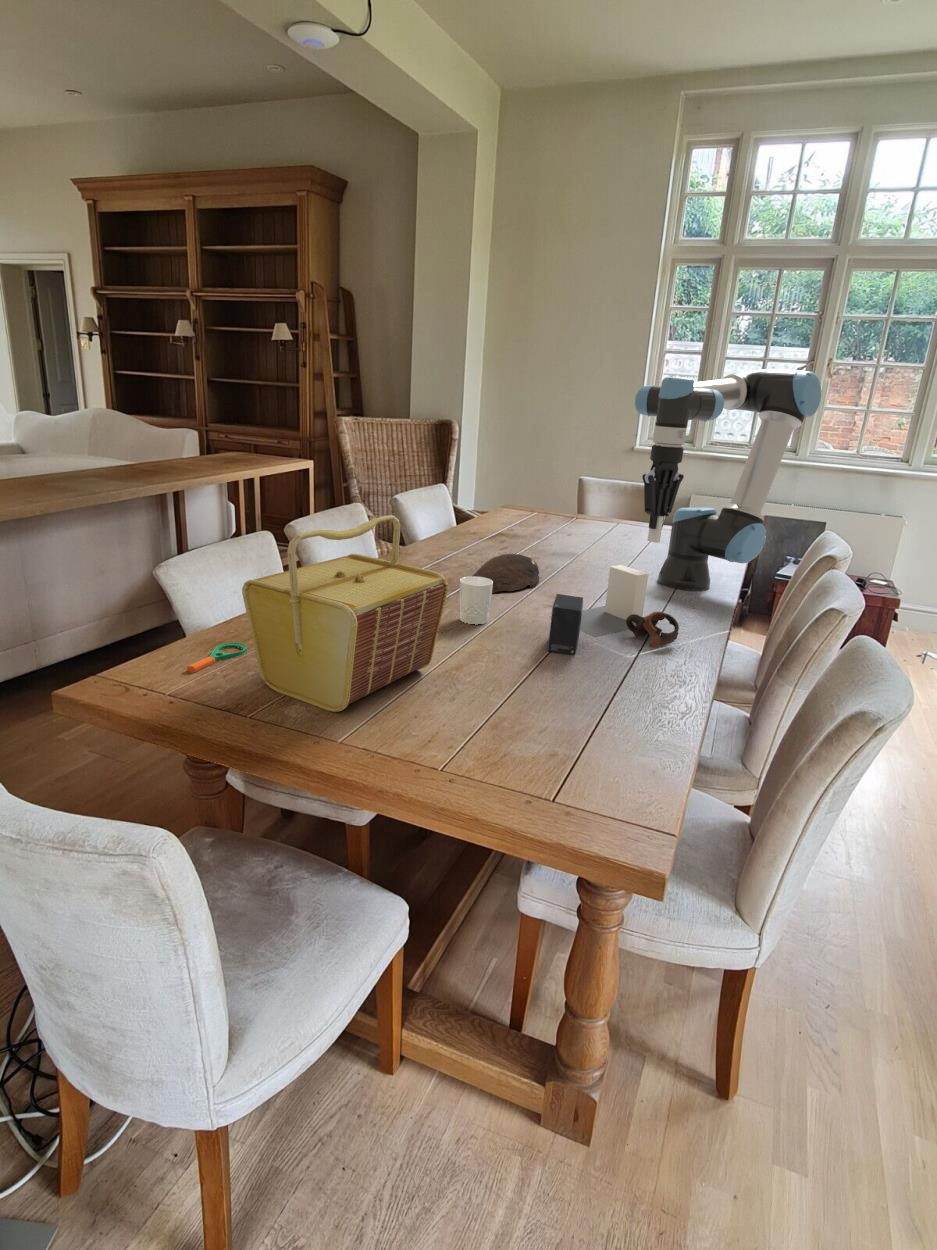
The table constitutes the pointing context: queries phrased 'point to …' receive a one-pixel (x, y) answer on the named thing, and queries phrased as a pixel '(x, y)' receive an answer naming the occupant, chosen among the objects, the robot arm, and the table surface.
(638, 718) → the table surface
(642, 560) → the table surface
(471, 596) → the white cup
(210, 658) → the magnifying glass
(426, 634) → the picnic basket
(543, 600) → the table surface
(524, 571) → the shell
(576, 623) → the small box
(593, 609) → the mat
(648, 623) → the brown curved piece
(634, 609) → the tall block
